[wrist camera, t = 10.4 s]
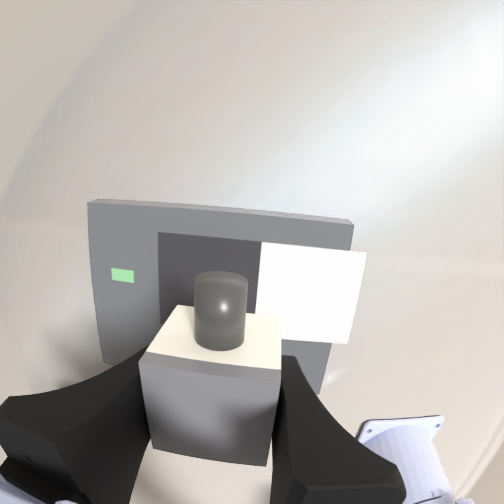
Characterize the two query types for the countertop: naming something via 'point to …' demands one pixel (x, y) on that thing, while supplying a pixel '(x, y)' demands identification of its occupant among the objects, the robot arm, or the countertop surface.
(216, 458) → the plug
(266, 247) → the grey flat board
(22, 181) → the countertop surface
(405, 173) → the countertop surface
